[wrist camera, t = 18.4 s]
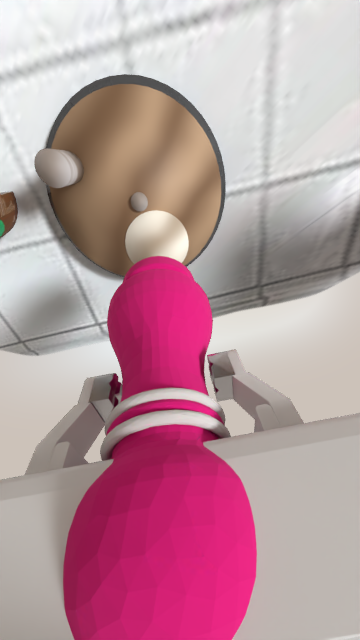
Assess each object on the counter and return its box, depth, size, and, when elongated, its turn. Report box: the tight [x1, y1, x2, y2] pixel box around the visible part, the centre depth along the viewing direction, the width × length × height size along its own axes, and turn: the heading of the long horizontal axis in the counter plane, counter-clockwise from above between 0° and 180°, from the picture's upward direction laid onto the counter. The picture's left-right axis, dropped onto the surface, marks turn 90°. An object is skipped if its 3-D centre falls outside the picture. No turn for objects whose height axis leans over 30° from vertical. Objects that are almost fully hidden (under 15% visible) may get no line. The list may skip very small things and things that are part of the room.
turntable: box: [35, 84, 221, 276], centre depth 26 cm, size 20×20×6 cm
